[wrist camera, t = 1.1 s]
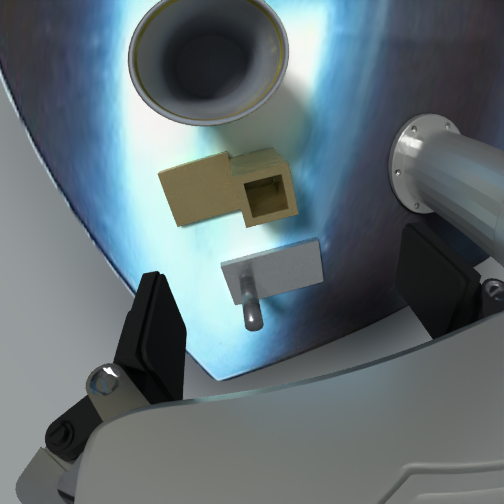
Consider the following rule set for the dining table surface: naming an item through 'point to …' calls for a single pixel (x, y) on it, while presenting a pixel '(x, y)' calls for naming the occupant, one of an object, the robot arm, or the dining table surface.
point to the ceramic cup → (208, 59)
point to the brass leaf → (230, 188)
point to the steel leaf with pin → (271, 275)
